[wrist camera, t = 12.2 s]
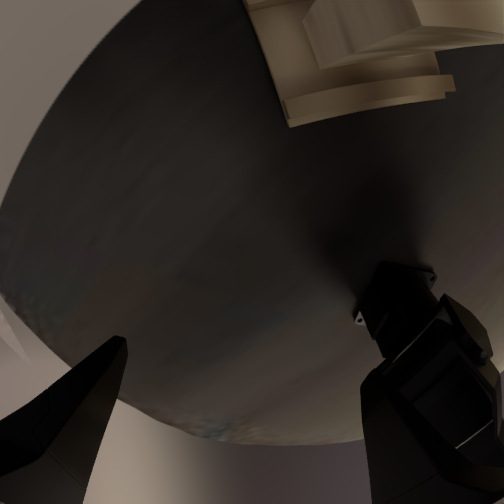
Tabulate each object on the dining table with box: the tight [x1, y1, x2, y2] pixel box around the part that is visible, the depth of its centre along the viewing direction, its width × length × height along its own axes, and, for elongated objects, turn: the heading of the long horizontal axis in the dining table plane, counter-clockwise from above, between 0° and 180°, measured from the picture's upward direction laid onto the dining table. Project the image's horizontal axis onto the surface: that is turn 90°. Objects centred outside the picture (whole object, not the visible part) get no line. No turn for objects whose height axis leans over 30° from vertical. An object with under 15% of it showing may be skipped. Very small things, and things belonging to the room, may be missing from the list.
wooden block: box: [302, 0, 504, 70], centre depth 9 cm, size 6×4×12 cm, turn 108°
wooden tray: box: [243, 0, 456, 128], centre depth 14 cm, size 12×10×2 cm
